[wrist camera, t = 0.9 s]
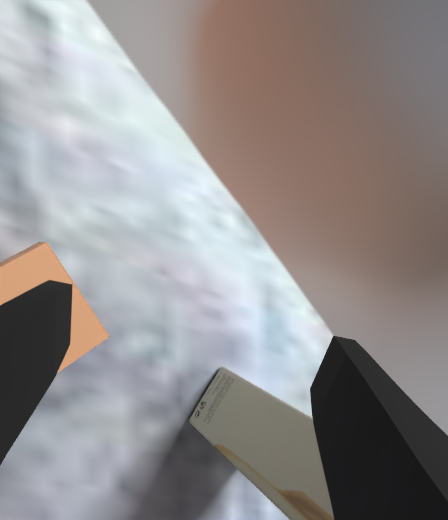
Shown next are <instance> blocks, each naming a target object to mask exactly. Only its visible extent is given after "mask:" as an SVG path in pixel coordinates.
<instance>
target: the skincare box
mask: <svg viewBox="0 0 448 520" xmlns="http://www.w3.org/2000/svg"><path fill="white" fill-rule="evenodd" d="M189 422H190V424H192V425H193V426H194V427H195V428H196V429H197V430H198V431H199V432H200V433H201V434H202V435H203V436H204V437H205V438H206V439H207V440H208V441H209V442H210V443H211V444H212V445H213V446H214V447H215V448H217V449H218V450H219V451H220V452H221V453H222V454H223V455H224V456H225V457H226V458H227V459H228V460H229V461H230V462H231V463H232V464H233V465H234V466H235V467H236V468H237V469H238V470H239V471H240V472H241V473H242V474H243V475H244V476H245V477H246V478H247V479H248V480H250V481H251V482H252V483H253V484H254V485H255V486H256V487H257V488H258V489H259V490H260V491H261V492H262V493H263V494H264V495H265V496H266V497H267V498H268V499H269V500H270V501H271V502H272V503H273V504H274V505H275V506H276V507H278V508H279V509H280V510H281V511H282V512H283V513H284V514H285V515H286V516H287V517H288V518H289V519H290V520H334V516H333V511H332V506H331V501H330V497H329V492H328V488H327V484H326V479H325V475H324V470H323V466H322V462H321V457H320V453H319V448H318V444H317V439H316V434H315V430H314V425H313V418H312V417H310V416H308V415H307V414H305V413H303V412H301V411H300V410H298V409H296V408H294V407H292V406H291V405H289V404H287V403H285V402H284V401H282V400H280V399H278V398H277V397H275V396H273V395H271V394H270V393H268V392H266V391H265V390H263V389H261V388H259V387H258V386H256V385H254V384H252V383H251V382H249V381H247V380H245V379H244V378H242V377H240V376H239V375H237V374H235V373H233V372H232V371H230V370H228V369H227V368H225V367H221V369H220V370H219V372H218V373H217V375H216V376H215V378H214V380H213V381H212V383H211V384H210V386H209V387H208V389H207V391H206V392H205V394H204V395H203V397H202V399H201V400H200V402H199V404H198V406H197V407H196V409H195V411H194V413H193V414H192V416H191V418H190V420H189Z"/></svg>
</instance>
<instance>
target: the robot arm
mask: <svg viewBox="0 0 448 520" xmlns="http://www.w3.org/2000/svg"><path fill="white" fill-rule="evenodd" d="M72 286H73V284H68V283H63V282H58V281H53V280H48V281H46V282H44V283H42V284H40V285H38V286H36V287H34V288H32V289H30V290H28V291H26V292H24V293H23V294H21V295H19V296H17V297H15V298H13V299H11V300H9V301H7V302H5V303H4V304H2V305H0V465H1V463H2V461H3V460H4V458H5V456H6V454H7V453H8V451H9V450H10V448H11V447H12V445H13V443H14V442H15V440H16V439H17V437H18V435H19V434H20V432H21V431H22V429H23V428H24V426H25V424H26V423H27V421H28V420H29V418H30V416H31V415H32V413H33V412H34V410H35V409H36V407H37V405H38V404H39V402H40V401H41V399H42V397H43V396H44V394H45V393H46V391H47V389H48V388H49V386H50V385H51V383H52V381H53V380H54V378H55V376H56V374H57V372H58V370H59V368H60V366H61V364H62V361H63V359H64V357H65V355H66V353H67V350H68V348H69V346H70V340H71V313H72ZM310 393H311V407H312V416H313V425H314V430H315V434H316V439H317V444H318V448H319V453H320V457H321V462H322V466H323V470H324V475H325V479H326V484H327V488H328V492H329V497H330V501H331V506H332V511H333V516H334V520H448V436H447V435H446V434H445V433H444V432H443V431H442V430H441V429H440V428H439V427H438V426H437V425H436V424H435V423H434V422H433V421H432V420H431V419H430V418H429V417H428V416H427V415H426V414H425V413H424V412H423V411H422V410H421V409H420V408H419V407H418V406H417V405H416V404H415V403H414V402H413V401H412V400H411V399H410V398H409V397H408V396H407V395H406V394H405V393H404V392H403V391H402V389H400V387H399V386H398V385H397V384H396V383H395V382H394V381H393V380H392V379H391V378H390V377H389V376H388V375H387V374H386V372H385V371H384V370H383V369H382V368H381V367H380V366H379V365H378V364H377V363H376V361H375V360H374V359H373V358H372V357H371V356H370V355H369V354H368V353H367V352H366V351H365V350H364V349H363V348H362V347H361V346H360V345H359V344H358V343H357V342H356V341H355V340H352V339H346V338H342V337H337V336H333V338H332V340H331V343H330V345H329V347H328V349H327V352H326V354H325V356H324V359H323V361H322V363H321V365H320V368H319V370H318V372H317V374H316V377H315V379H314V381H313V383H312V386H311V388H310Z"/></svg>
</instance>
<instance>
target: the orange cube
mask: <svg viewBox="0 0 448 520" xmlns="http://www.w3.org/2000/svg"><path fill="white" fill-rule="evenodd" d="M48 280H53V281H58V282H63V283H68V284H73V286H72V313H71V340H70V346H69V348H68V350H67V353H66V355H65V357H64V359H63V361H62V364H61V366H60V368H59V370H58V372H59V371H61V370H62V369H64V368H65V367H67V366H68V365H69V364H71V363H72V362H74V361H75V360H77V359H78V358H80V357H81V356H82V355H84V354H85V353H87V352H88V351H90V350H91V349H92V348H94V347H95V346H97V345H98V344H100V343H101V342H103V341H104V340H105V339H107V338H108V337H110V336H109V334H108V333H107V331H106V330H105V328H104V327H103V325H102V324H101V322H100V321H99V319H98V318H97V316H96V315H95V313H94V312H93V310H92V309H91V307H90V306H89V304H88V303H87V301H86V300H85V298H84V297H83V295H82V294H81V292H80V291H79V289H78V288H77V286H76V285H75V283H74V282H73V280H72V279H71V277H70V276H69V274H68V273H67V272H66V270H65V269H64V267H63V266H62V264H61V263H60V261H59V260H58V258H57V257H56V255H55V254H54V252H53V251H52V249H51V248H50V246H49V245H48V243H47V242H38V243H36V244H34V245H33V246H31V247H29V248H27V249H25V250H23V251H21V252H19V253H18V254H16V255H14V256H12V257H10V258H8V259H6V260H5V261H3V262H1V263H0V305H2V304H4V303H5V302H7V301H9V300H11V299H13V298H15V297H17V296H19V295H21V294H23V293H24V292H26V291H28V290H30V289H32V288H34V287H36V286H38V285H40V284H42V283H44V282H46V281H48ZM58 372H57V373H58Z"/></svg>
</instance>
